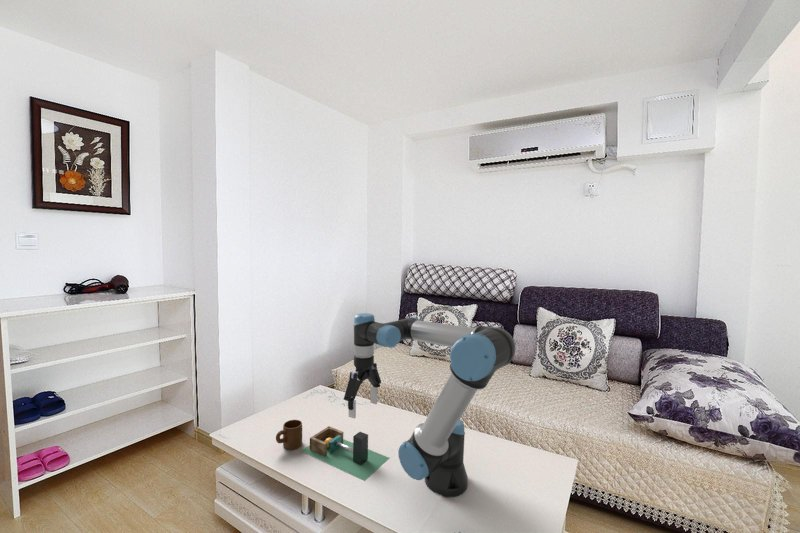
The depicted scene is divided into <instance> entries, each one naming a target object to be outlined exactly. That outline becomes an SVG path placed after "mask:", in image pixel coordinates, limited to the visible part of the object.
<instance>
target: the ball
mask: <svg viewBox="0 0 800 533" xmlns="http://www.w3.org/2000/svg"><path fill="white" fill-rule="evenodd" d="M330 440H332V438H327V439H326V440H325V441H324V442H326V443H327V448H329V441H330Z"/></svg>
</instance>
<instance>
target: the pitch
mask: <svg viewBox="0 0 800 533" xmlns="http://www.w3.org/2000/svg"><path fill="white" fill-rule="evenodd" d="M343 444H345V445H348V446H350V447H352V448H353V442H351V441H349V440H346V439H344V438H343ZM301 453H304V454H306V455H309V456H310V457H312V458H315V459H317V460H319V461H321V462H323V463H326V464H328V465H330V466H332V467H334V468H336V469H339V470H340V471H343V472H344V473H347V474H349V475H351V476H353V477H355V478H357V479H359V480H362V481H363V482H366V480H368V479H369V477H371V476H372V475H373V474H374V473H375V472H376V471H378V469H379V468H381V467H382V466H383V465H384V464H385V463H386V462H387V461H388V460H389V459H390V457H389V456H386V455H383V454H381V453H378V452H376V451H373V450H371V449H370V448H368V460H367V461H366V462H364V463H363V464H362V465H360V464H358V463H356V462H353V453H351V452H348V451H346V450H344V449H341V448H338V449H336V450H335V451H333V452H332V453H329V448H327V455H326V456H325V457H324V456H322V455H320V454H318V453H315V452H313V451H311V450H310V444H309V445H308V446H306V447H304V448H303V449H301Z"/></svg>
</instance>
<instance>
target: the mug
mask: <svg viewBox="0 0 800 533" xmlns="http://www.w3.org/2000/svg"><path fill="white" fill-rule="evenodd" d="M282 427H283V428H282V429H281V430H279V431H278V432H277V434H276V435H275V441H276V443H278V444H282V447H283V449H284V450H286V451H294V450H297V449H299V448H301V447H302V445H303V423H302V421H301V420H299V419H291V420H287V421H286V422H284V423H283V426H282ZM281 436H282V438H281Z"/></svg>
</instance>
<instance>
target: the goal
mask: <svg viewBox="0 0 800 533" xmlns="http://www.w3.org/2000/svg"><path fill="white" fill-rule="evenodd" d="M338 435H340V436H341V443H343V439H344V431H343V430H339V429H336V428H335V427H333V426H327V427H325V428H324V429H322V430H320V431H319V432H317V433H315V434H314V435H312V436H310V437H309V445H310V450H311V451H313V452H315V453H318V454H320V455H322V456H324V457H325V456H326V455H327V443H326V442H324V441H325V440H326V439H327V438H332V439H333V438H335V437H336V436H338Z"/></svg>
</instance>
